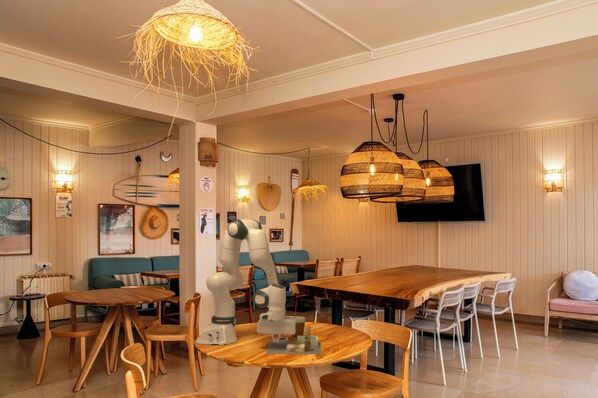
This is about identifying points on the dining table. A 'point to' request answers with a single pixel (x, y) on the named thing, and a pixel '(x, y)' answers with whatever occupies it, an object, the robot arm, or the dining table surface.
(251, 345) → the dining table surface
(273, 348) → the bench mat
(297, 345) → the beech plate
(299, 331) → the disposable coffee cup
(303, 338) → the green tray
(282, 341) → the dowel socket
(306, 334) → the oak dowel
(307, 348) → the bench dog
